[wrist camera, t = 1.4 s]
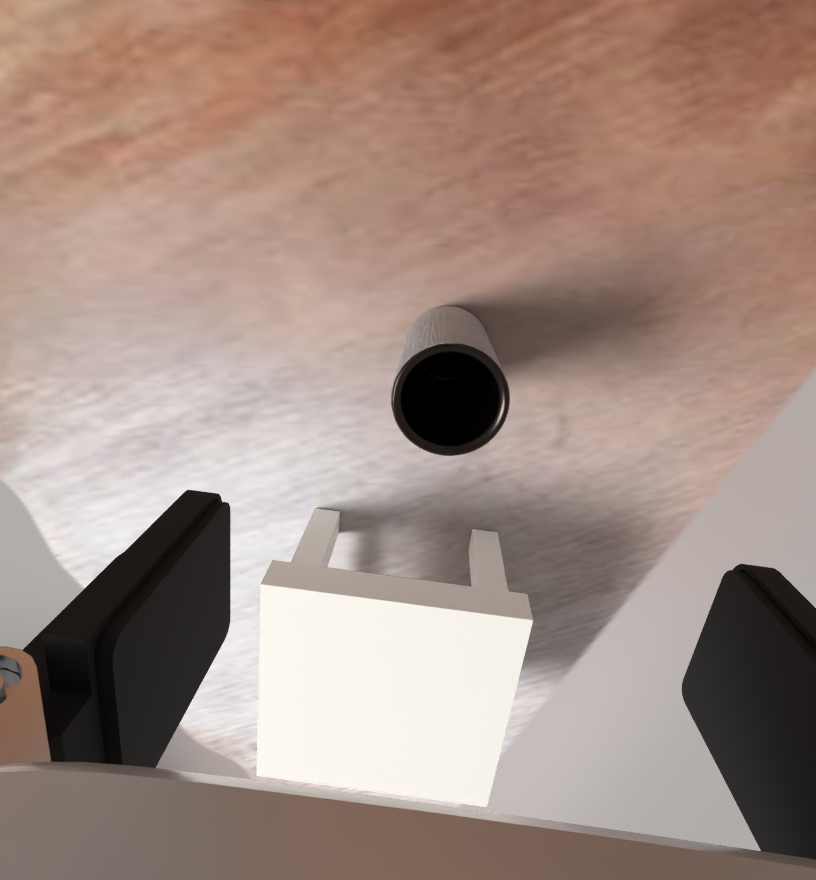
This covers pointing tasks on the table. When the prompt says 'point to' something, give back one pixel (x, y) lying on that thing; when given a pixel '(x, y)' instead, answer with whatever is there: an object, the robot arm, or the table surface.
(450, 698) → the stool
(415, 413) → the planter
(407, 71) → the table surface
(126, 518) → the table surface
